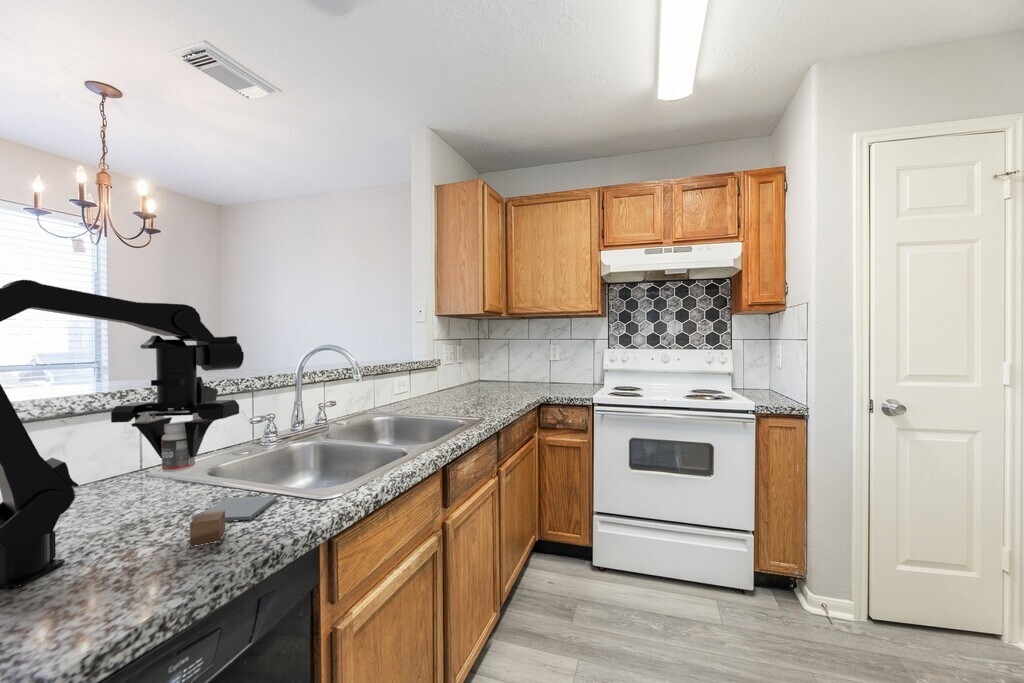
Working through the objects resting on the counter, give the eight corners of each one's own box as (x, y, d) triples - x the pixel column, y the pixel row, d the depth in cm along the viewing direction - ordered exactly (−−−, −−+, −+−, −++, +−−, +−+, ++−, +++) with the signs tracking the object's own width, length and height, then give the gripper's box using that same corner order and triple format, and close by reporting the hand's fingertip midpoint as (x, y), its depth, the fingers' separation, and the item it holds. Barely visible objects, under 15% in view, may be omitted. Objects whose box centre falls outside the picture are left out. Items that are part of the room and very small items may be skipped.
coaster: (250, 520, 76) (250, 516, 76) (193, 522, 75) (193, 518, 75) (276, 499, 86) (276, 496, 86) (226, 501, 85) (226, 497, 85)
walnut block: (219, 542, 68) (219, 518, 68) (190, 548, 66) (189, 523, 66) (225, 532, 71) (225, 509, 71) (197, 537, 70) (197, 514, 70)
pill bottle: (156, 470, 74) (155, 424, 74) (187, 463, 78) (186, 419, 78) (169, 473, 72) (168, 426, 72) (200, 466, 76) (199, 421, 76)
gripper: (254, 368, 84) (255, 444, 84) (156, 370, 82) (158, 447, 82) (220, 373, 73) (222, 460, 73) (107, 375, 71) (109, 464, 71)
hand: (178, 457), depth 75 cm, fingers closed on pill bottle, 5 cm apart
